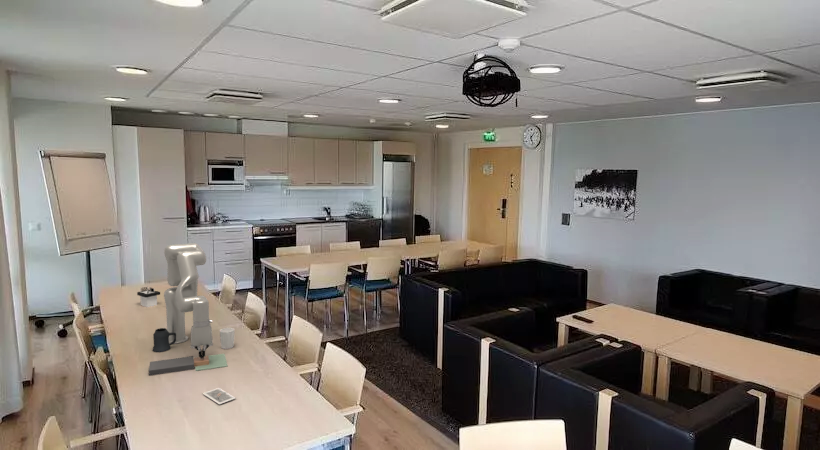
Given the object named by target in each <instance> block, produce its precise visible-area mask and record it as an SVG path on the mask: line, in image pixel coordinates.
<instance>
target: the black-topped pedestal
mask: <svg viewBox="0 0 820 450" xmlns="http://www.w3.org/2000/svg"><path fill="white" fill-rule="evenodd" d="M136 293H137V294H136V295H137V296H139V297H140V306H141V305H142V306H141V307H146V308H151V307H154V305H155V306H158V296H159V295H161V291H158V290H157V291H156V290H155V287H154V288H153V287H149V286H145V287H139V291H137V292H136ZM150 306H151V307H150Z"/></svg>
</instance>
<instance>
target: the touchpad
mask: <svg viewBox="0 0 820 450" xmlns="http://www.w3.org/2000/svg"><path fill="white" fill-rule="evenodd" d="M202 395H204V396H205V397H207V398H208V399H210V400H212V401H214V402H215V403H217V404H218V405H221V404H223V403H224V404H225V403H226V402H229V401H232V400H236V399H237V397H235V396H233V395H232V394H230V393H229V392H228V391H225V390H223V389H222V388H221V387H217V388H213V389H211V390H208V391H205V392H203V393H202Z"/></svg>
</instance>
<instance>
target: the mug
mask: <svg viewBox="0 0 820 450" xmlns="http://www.w3.org/2000/svg"><path fill="white" fill-rule="evenodd" d="M169 335H174V341H173V342H171V343H170V344H169ZM152 338H153V346H152V350H151V351H152V352H153V353H164V352H167V351H170V350H171V345H175V344H174V343H175V342H176V332H172V333H169V332H168V331H167V327H166V328H165V327H160V328H156V329H155V330H154V333H153V337H152Z"/></svg>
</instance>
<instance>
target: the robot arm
mask: <svg viewBox="0 0 820 450" xmlns="http://www.w3.org/2000/svg"><path fill="white" fill-rule="evenodd" d="M163 250H164V252H163V253H164V258H165V260H166V262H167V264H166V265H167V269H166V270H167V275H166V276H167V278H166V280H167V284H168V286H170V288H166V290H165V291H164V293H163V298H164V303H165V309H166V310H165V312H166V329H167V331H168V332H169V333H172V332H176V342H175V343H174V344H173V345H175V344H176V345H177V344H181V343H185V342H187V341H189V336H188V335H186V314H185V313H189V312H190V313H191V312H192V325H191V329H190V349H195V350H196V351H198V357H200V358H201V359H202V358H203V359H204V356H206V350H207V349H208V348H210V347H212V346H214V343H213V332H212V331H213V329H212V325H211V323H213V320H212V319H210V305H209V303H210V302H209V300H208V298H207V297H206V296H204V295H198V285H199V284H198V283H199V282H198V281H199V280H198V279H199V277H200V276H199V272H198V268H197V266H204V265H205V264H206V262H207V256H206V253H205V251H204V250H203V248H202V247H201V246H200V245H199V244H198V243H195V242H194V243H193V242H192V243H177V244H174V243H173V244H168V245H166V246H165V247H164V249H163ZM173 341H174V335H169V344H170V343H171V342H173ZM201 346H202V348H201Z"/></svg>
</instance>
